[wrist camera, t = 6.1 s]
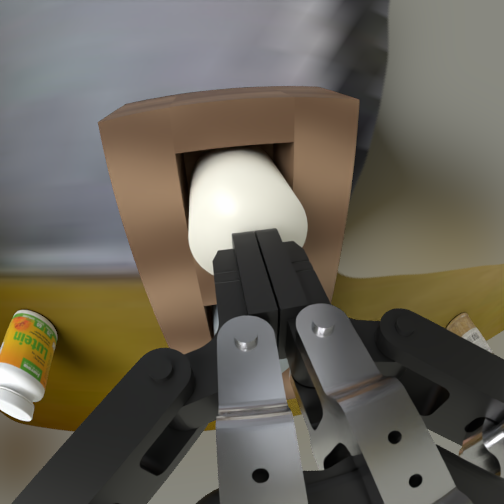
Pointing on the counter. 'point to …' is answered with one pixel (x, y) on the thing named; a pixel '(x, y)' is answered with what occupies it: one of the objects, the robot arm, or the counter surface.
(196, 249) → the cream button
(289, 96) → the button panel
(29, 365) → the supplement bottle
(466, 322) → the sprinkles bottle
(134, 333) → the counter surface
